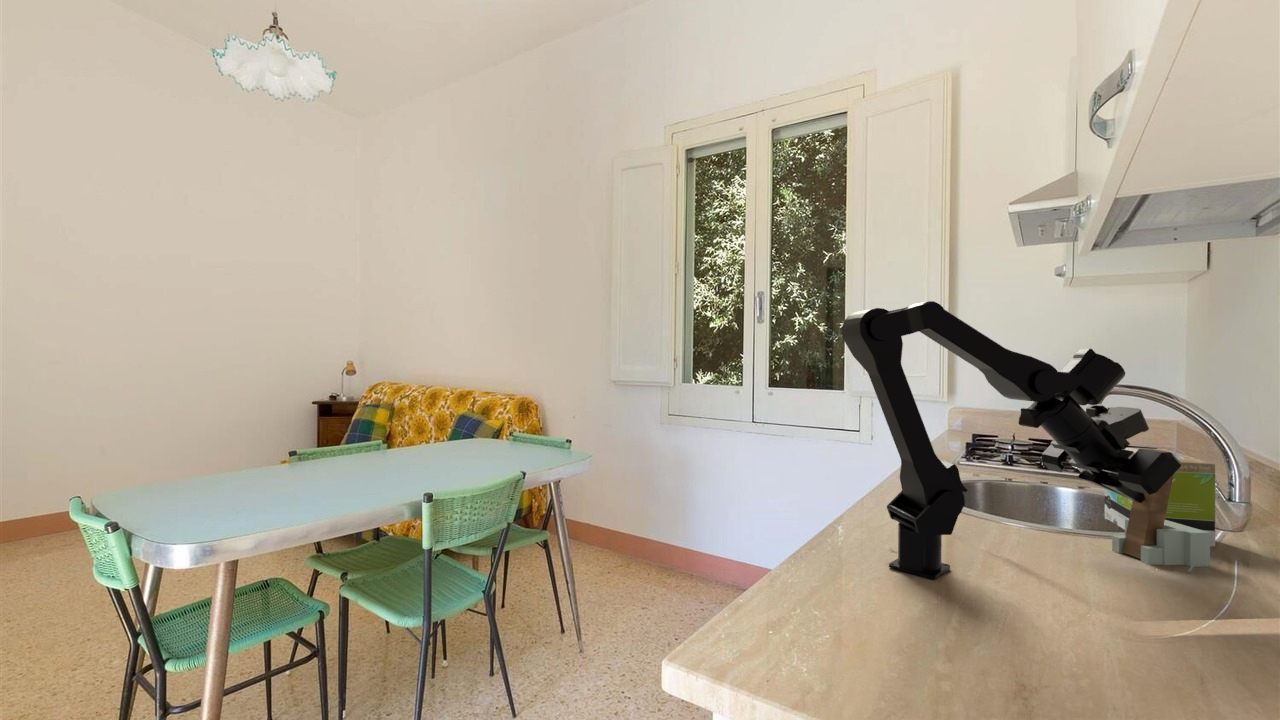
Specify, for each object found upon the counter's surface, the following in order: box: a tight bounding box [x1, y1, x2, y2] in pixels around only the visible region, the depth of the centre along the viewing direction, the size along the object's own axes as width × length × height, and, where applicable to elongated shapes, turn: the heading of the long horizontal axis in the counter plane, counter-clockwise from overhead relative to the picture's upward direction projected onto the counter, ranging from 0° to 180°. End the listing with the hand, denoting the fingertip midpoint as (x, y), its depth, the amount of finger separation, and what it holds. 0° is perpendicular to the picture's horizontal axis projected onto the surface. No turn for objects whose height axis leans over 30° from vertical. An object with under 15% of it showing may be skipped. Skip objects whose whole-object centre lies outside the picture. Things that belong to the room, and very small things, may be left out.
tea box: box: [1103, 447, 1216, 547], centre depth 100 cm, size 15×10×15 cm, turn 161°
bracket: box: [1111, 519, 1211, 568], centre depth 87 cm, size 10×8×6 cm
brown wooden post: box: [1123, 474, 1174, 560], centre depth 87 cm, size 2×3×14 cm
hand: (1140, 500), depth 87 cm, fingers closed, pressing on brown wooden post
